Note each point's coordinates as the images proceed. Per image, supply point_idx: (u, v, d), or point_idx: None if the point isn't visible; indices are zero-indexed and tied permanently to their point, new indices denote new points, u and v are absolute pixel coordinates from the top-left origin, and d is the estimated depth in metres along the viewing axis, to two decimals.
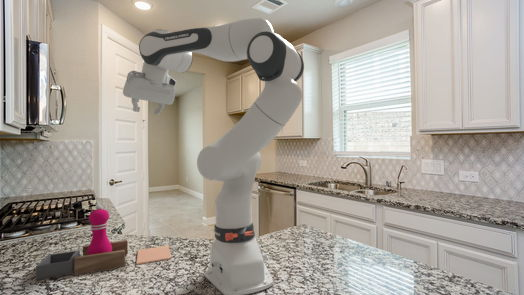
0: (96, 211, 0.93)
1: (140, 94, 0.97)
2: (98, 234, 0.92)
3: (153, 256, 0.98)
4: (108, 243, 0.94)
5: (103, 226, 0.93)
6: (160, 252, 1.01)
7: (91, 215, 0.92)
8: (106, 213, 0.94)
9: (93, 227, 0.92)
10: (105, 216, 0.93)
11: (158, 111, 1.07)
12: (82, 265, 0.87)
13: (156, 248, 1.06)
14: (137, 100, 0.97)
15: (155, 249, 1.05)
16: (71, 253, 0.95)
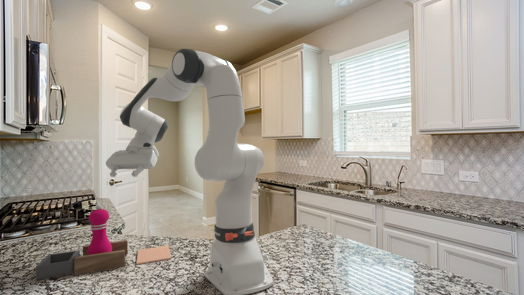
0: (96, 211, 0.93)
1: (115, 160, 1.11)
2: (98, 234, 0.92)
3: (153, 256, 0.98)
4: (108, 243, 0.94)
5: (103, 226, 0.93)
6: (160, 252, 1.01)
7: (91, 215, 0.92)
8: (106, 213, 0.94)
9: (93, 227, 0.92)
10: (105, 216, 0.93)
11: (133, 171, 1.06)
12: (82, 265, 0.87)
13: (156, 248, 1.06)
14: (113, 166, 1.10)
15: (155, 249, 1.05)
16: (71, 253, 0.95)
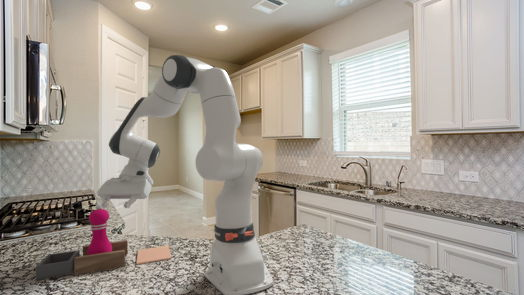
0: (96, 211, 0.93)
1: (107, 190, 1.06)
2: (98, 234, 0.92)
3: (153, 256, 0.98)
4: (108, 243, 0.94)
5: (103, 226, 0.93)
6: (160, 252, 1.01)
7: (91, 215, 0.92)
8: (106, 213, 0.94)
9: (93, 227, 0.92)
10: (105, 216, 0.93)
11: (125, 203, 1.01)
12: (82, 265, 0.87)
13: (156, 248, 1.06)
14: (105, 196, 1.05)
15: (155, 249, 1.05)
16: (71, 253, 0.95)
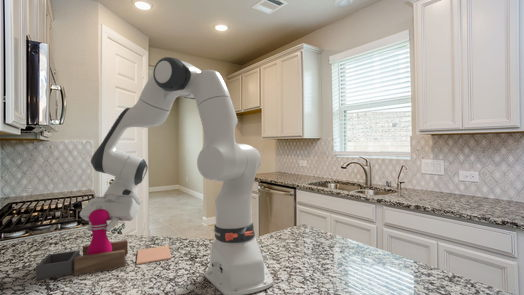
0: (96, 211, 0.93)
1: (91, 211, 0.98)
2: (98, 234, 0.92)
3: (153, 256, 0.98)
4: (108, 243, 0.94)
5: (103, 226, 0.93)
6: (160, 252, 1.01)
7: (91, 215, 0.92)
8: (106, 213, 0.94)
9: (93, 227, 0.92)
10: (105, 216, 0.93)
11: (106, 226, 0.93)
12: (82, 265, 0.87)
13: (156, 248, 1.06)
14: None
15: (155, 249, 1.05)
16: (71, 253, 0.95)
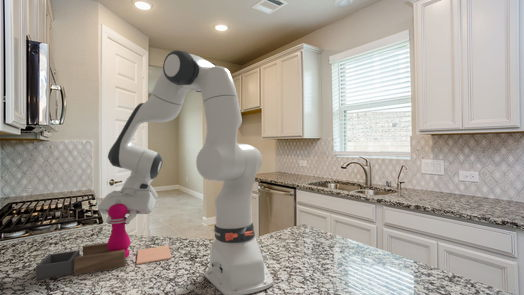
0: (115, 205, 0.95)
1: (109, 204, 1.00)
2: (117, 228, 0.94)
3: (153, 256, 0.98)
4: (127, 237, 0.96)
5: (122, 220, 0.95)
6: (160, 252, 1.01)
7: (111, 209, 0.94)
8: (125, 207, 0.96)
9: (113, 221, 0.94)
10: (124, 210, 0.95)
11: (125, 218, 0.95)
12: (82, 265, 0.87)
13: (156, 248, 1.06)
14: None
15: (155, 249, 1.05)
16: (71, 253, 0.95)
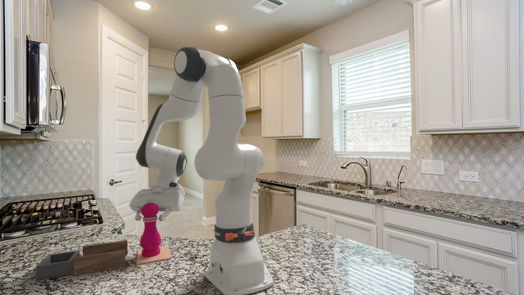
0: (148, 204, 0.99)
1: (140, 202, 1.04)
2: (150, 226, 0.98)
3: (153, 256, 0.98)
4: (158, 235, 1.00)
5: (154, 219, 0.99)
6: (160, 252, 1.01)
7: (144, 208, 0.98)
8: (157, 206, 1.00)
9: (145, 219, 0.98)
10: (156, 209, 0.99)
11: (160, 216, 0.99)
12: (82, 265, 0.87)
13: None
14: (138, 208, 1.03)
15: None
16: (71, 253, 0.95)
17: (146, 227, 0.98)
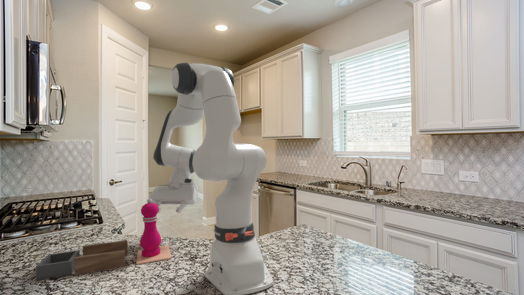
0: (148, 204, 0.99)
1: (158, 196, 1.17)
2: (150, 226, 0.98)
3: (153, 256, 0.98)
4: (158, 235, 1.00)
5: (154, 219, 0.99)
6: (160, 252, 1.01)
7: (144, 208, 0.98)
8: (157, 206, 1.00)
9: (145, 219, 0.98)
10: (156, 209, 0.99)
11: (177, 208, 1.12)
12: (82, 265, 0.87)
13: None
14: (157, 201, 1.16)
15: None
16: (71, 253, 0.95)
17: (146, 227, 0.98)
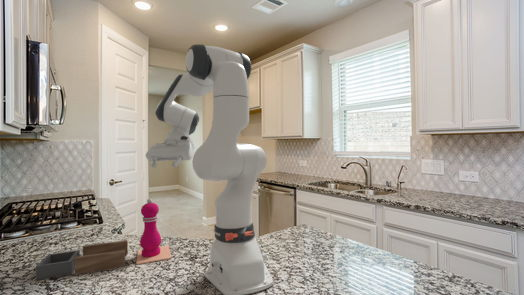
0: (148, 204, 0.99)
1: (155, 152, 1.18)
2: (150, 226, 0.98)
3: (153, 256, 0.98)
4: (158, 235, 1.00)
5: (154, 219, 0.99)
6: (160, 252, 1.01)
7: (144, 208, 0.98)
8: (157, 206, 1.00)
9: (145, 219, 0.98)
10: (156, 209, 0.99)
11: (173, 162, 1.13)
12: (82, 265, 0.87)
13: None
14: (153, 157, 1.17)
15: None
16: (71, 253, 0.95)
17: (146, 227, 0.98)
